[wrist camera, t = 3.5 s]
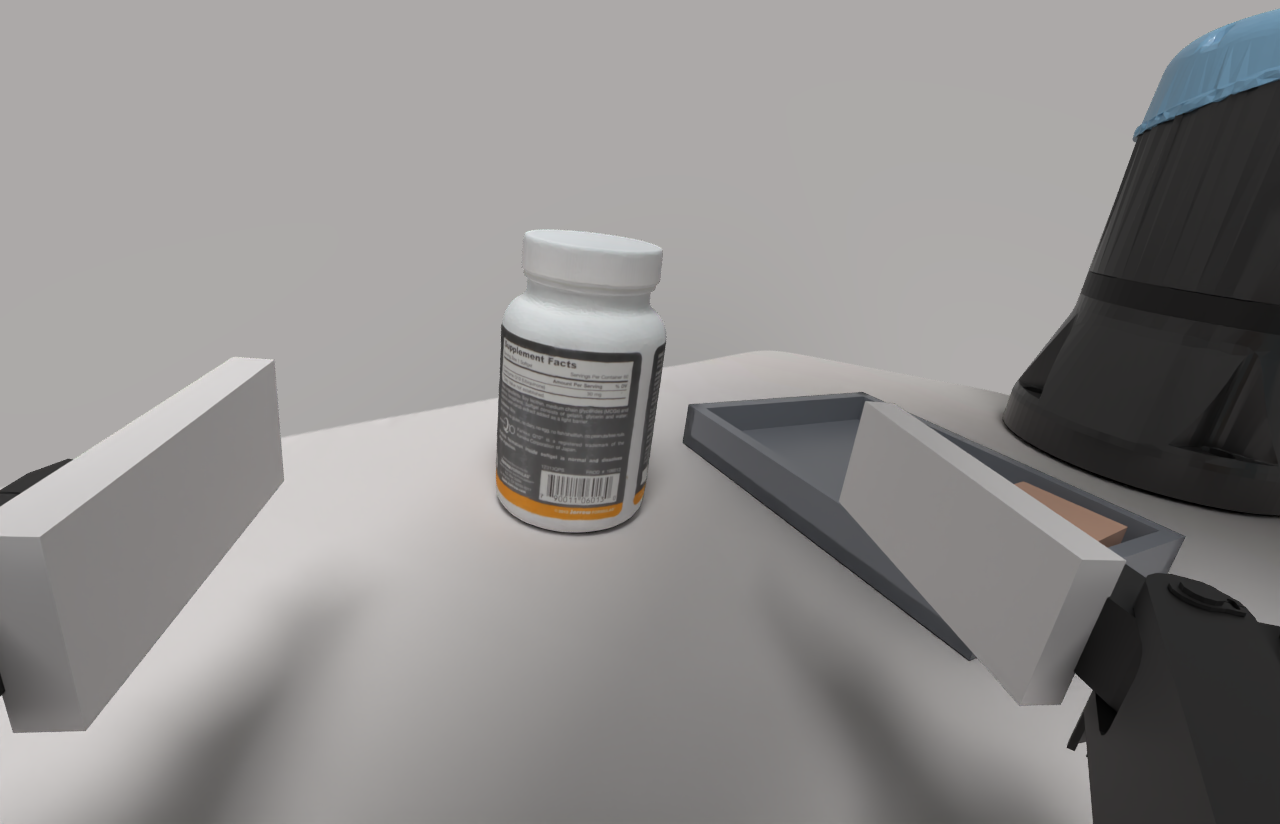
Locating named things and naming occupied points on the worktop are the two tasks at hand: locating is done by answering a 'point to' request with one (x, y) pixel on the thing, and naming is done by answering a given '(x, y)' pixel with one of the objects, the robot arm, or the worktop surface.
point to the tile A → (1079, 516)
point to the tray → (815, 472)
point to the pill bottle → (579, 381)
